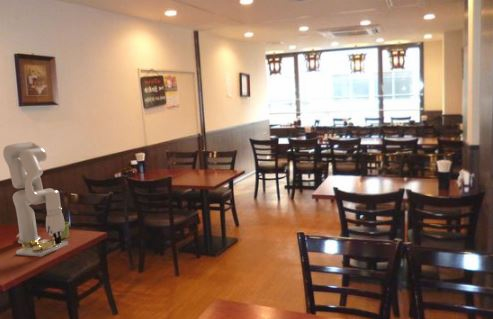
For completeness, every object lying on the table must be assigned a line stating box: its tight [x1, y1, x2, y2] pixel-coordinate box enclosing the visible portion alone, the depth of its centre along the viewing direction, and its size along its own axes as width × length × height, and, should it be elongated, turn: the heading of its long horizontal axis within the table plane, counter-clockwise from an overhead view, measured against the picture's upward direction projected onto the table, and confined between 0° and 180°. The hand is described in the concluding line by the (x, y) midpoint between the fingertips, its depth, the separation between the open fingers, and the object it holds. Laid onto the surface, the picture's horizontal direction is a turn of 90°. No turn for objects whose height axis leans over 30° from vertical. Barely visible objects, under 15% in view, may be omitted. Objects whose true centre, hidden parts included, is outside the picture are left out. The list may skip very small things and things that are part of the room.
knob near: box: [21, 240, 39, 249], centre depth 250 cm, size 10×4×3 cm, turn 159°
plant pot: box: [61, 221, 71, 240], centre depth 270 cm, size 9×9×9 cm
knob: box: [33, 239, 52, 251], centre depth 244 cm, size 10×4×3 cm, turn 135°
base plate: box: [15, 238, 69, 258], centre depth 250 cm, size 18×20×4 cm
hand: (58, 243), depth 249 cm, fingers closed
